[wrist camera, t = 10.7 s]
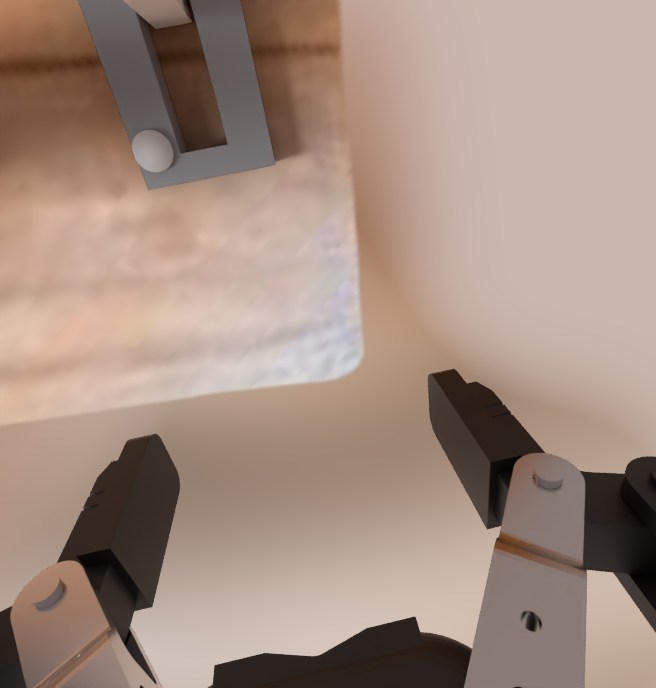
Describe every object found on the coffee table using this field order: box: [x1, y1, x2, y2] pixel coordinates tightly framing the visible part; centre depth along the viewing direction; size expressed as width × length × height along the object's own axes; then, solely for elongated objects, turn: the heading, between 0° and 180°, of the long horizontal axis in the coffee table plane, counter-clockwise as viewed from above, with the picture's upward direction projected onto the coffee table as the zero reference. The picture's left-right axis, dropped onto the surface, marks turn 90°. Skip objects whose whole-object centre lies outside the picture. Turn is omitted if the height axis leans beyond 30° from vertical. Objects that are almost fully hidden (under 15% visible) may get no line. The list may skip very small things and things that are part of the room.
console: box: [78, 0, 276, 190], centre depth 28 cm, size 10×18×4 cm, turn 9°
